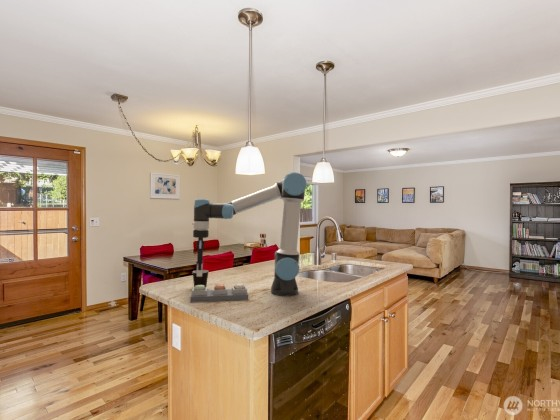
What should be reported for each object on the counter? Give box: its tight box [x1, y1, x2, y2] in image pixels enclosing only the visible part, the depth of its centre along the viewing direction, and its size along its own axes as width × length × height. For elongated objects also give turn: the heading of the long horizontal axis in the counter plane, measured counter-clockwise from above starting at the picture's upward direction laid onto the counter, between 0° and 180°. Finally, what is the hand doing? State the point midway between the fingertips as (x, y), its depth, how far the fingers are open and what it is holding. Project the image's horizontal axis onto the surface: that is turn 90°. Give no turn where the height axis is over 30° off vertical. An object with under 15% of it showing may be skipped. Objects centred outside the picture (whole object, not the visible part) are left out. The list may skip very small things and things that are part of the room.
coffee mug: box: [192, 269, 209, 287], centre depth 175 cm, size 12×9×10 cm
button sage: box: [195, 285, 205, 291], centre depth 157 cm, size 5×5×2 cm
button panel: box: [190, 285, 249, 303], centre depth 159 cm, size 28×12×5 cm, turn 103°
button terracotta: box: [214, 283, 226, 290], centre depth 159 cm, size 5×5×2 cm
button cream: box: [234, 283, 245, 289], centre depth 161 cm, size 5×5×2 cm
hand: (199, 276), depth 157 cm, fingers closed
